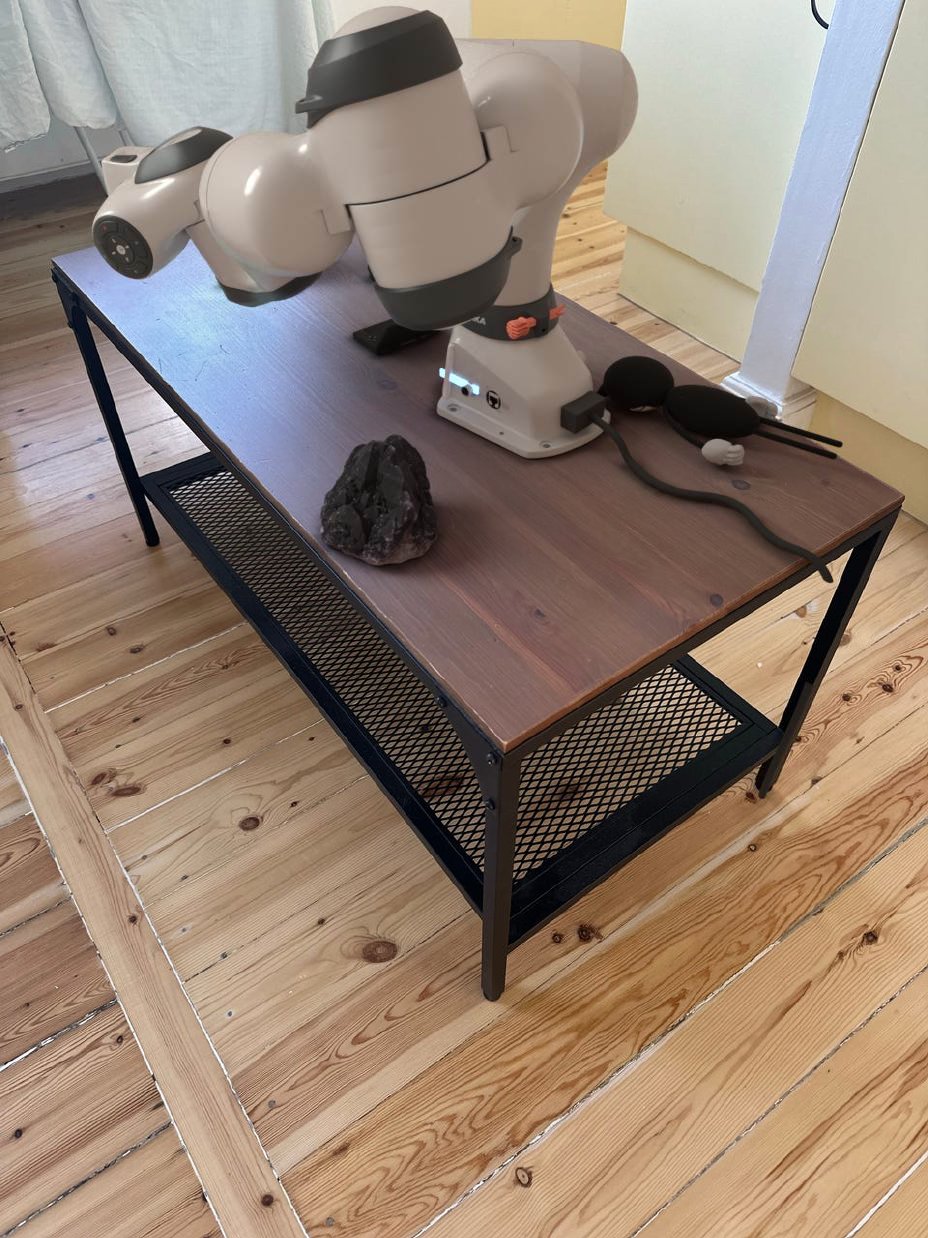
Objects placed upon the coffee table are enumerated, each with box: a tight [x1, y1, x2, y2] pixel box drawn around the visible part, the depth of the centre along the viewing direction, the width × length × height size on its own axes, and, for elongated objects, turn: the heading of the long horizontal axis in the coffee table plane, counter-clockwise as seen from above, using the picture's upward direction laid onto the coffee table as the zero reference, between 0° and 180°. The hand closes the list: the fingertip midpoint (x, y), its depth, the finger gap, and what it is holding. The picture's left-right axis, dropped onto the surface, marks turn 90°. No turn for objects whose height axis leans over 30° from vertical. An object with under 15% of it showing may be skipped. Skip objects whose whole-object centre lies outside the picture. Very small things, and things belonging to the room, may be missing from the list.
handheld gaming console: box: [352, 318, 442, 356], centre depth 125 cm, size 12×7×10 cm
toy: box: [595, 355, 844, 466], centre depth 110 cm, size 13×8×30 cm
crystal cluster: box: [319, 433, 439, 566], centre depth 95 cm, size 13×14×10 cm
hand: (217, 151), depth 117 cm, fingers open, 8 cm apart
